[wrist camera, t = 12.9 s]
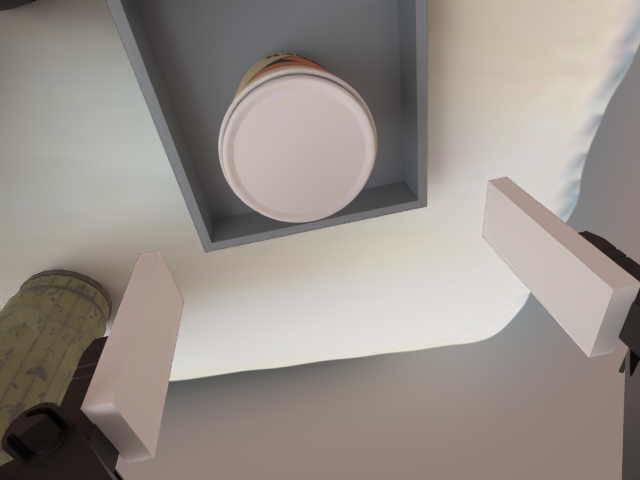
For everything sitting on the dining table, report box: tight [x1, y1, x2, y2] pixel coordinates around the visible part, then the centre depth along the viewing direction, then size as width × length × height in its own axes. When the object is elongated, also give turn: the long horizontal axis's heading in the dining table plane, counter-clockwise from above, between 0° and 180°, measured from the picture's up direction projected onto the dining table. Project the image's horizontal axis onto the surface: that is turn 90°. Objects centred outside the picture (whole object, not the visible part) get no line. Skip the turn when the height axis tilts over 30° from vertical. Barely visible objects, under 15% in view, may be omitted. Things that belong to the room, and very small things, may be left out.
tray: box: [106, 0, 428, 252], centre depth 32 cm, size 20×20×5 cm
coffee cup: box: [218, 51, 377, 223], centre depth 28 cm, size 9×9×12 cm
